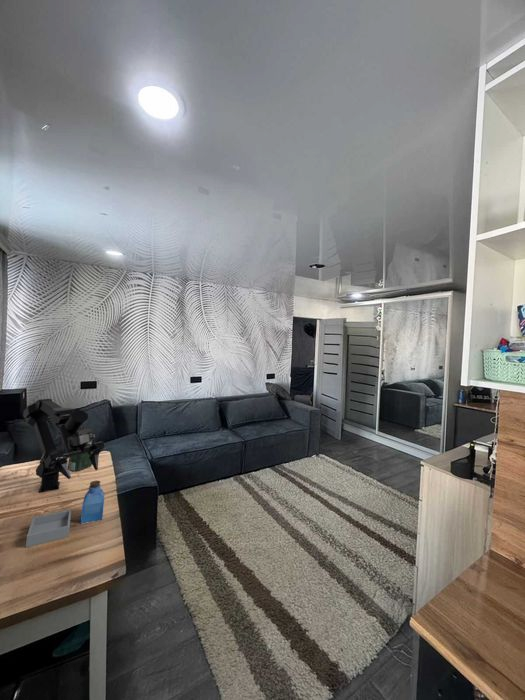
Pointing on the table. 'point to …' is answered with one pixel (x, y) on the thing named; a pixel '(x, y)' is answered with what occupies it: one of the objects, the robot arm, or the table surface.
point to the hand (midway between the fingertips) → (83, 473)
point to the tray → (48, 528)
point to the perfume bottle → (93, 503)
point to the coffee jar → (81, 457)
